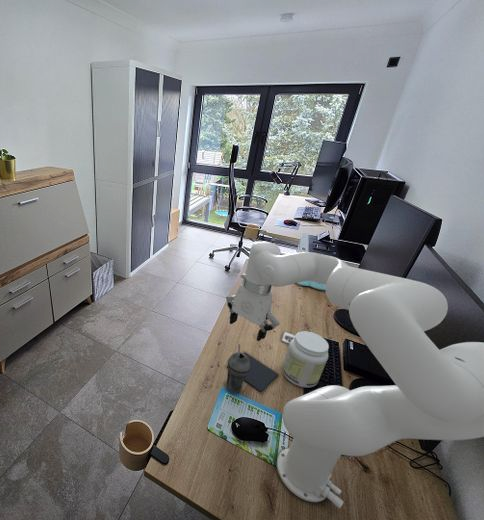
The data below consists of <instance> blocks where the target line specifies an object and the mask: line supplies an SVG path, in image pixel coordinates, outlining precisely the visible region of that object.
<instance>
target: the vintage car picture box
mask: <svg viewBox="0 0 484 520" xmlns="http://www.w3.org/2000/svg"><path fill="white" fill-rule="evenodd" d="M295 335H296V334H292V333H289V332H287V331H284V332H283V336H282V339H281V342H283V343H285V344H288V345H289V344H290V342H291V340H292V339H294V337H295Z"/></svg>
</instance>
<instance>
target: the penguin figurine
mask: <svg viewBox="0 0 484 520" xmlns="http://www.w3.org/2000/svg"><path fill="white" fill-rule="evenodd" d="M296 284H297V285H299V286H302V287H310V288H313V289H315V290H319V291H326V285H324V284H321V283H317V282H314V281H303V282H299V283H296Z"/></svg>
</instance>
